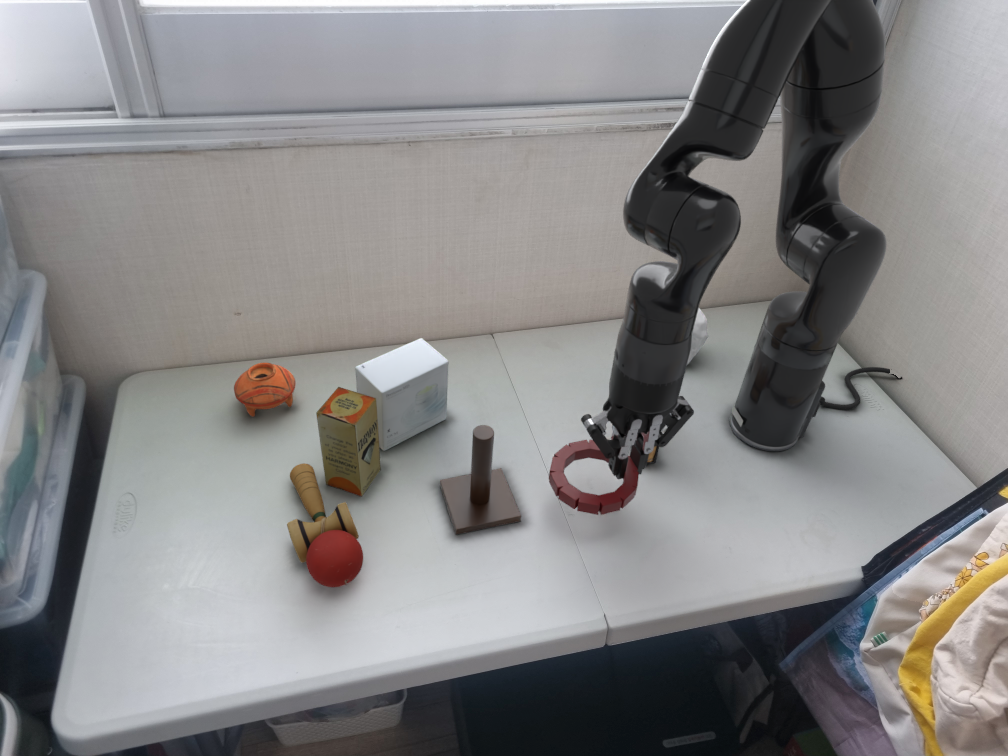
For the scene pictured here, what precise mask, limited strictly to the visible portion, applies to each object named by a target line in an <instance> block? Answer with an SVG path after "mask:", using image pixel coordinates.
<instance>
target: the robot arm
mask: <svg viewBox="0 0 1008 756" xmlns="http://www.w3.org/2000/svg"><path fill="white" fill-rule="evenodd" d="M885 36H886V35H885V30H884V26H883V23H882V21H881V18H880V14H879V12H878V9H877V7H876V5H875V3H874V1H873V0H746V1H745V2H744V3H743V4H742V5H741V6H740V7H739V8H738V9H737V10H736V11H735V12H734V14H733V15H731V17H730V18H729V19H728V21H727V22H726V23H725V24H724V26H722V29H721V30H720V31H719V32H718V34H717V36H716V38H715V39H714V41H713V43H712V44H711V46H710V48H709V50H708V52H707V54H706V56H705V58H704V61H703V63H702V65H701V68H700V70H699V72H698V75H697V76H696V79H695V81H694V84H693V86H692V89H691V91H690V94H689V96H688V98H687V101H686V103H685V105H684V107H683V109H682V113H681V114H680V117H679V118H678V120H677V121H676V122H675V125H674V126H673V127H672V128H671V130H669V133H668V134H667V135H666V136H665V138H664V139H663V141H662V143H660V145H659V147H658V148H657V149H656V151H655V152H654V154H653V155H652V156H651V157H650V159H649V160H648V162H647V163H646V164H645V165H644V167H643V168H642V169H641V170H640V172H639V173H638V174H637V176H636V178H635V179H634V181H633V182H632V183H631V185H630V186H629V189H628V191H627V192H626V195H625V199H624V202H623V208H622V220H623V225H624V228H625V230H626V232H627V234H628V235H629V236H630V237H632V238H633V239H634V240H636V241H638V242H639V243H642V244H643V245H646V246H648V247H649V248H651V249H652V248H653V250H656V251H658V252H660V253H663V254H664V255H667V256H668V257H671V258H672V259H674V260H676V261H677V262H671V261H664V260H663V261H661V260H660V261H659V260H656V261H649V262H646V263H644V264H642V265H640V266H638V267H637V268H636V269H635V270H634V271H633V273H632V275H631V278H630V281H629V285H628V288H627V289H628V291H627V294H626V302H625V308H624V313H623V317H622V321H621V324H620V328H619V330H618V334H617V337H616V344H615V348H614V352H613V360H612V364H611V365H612V367H611V372H610V378H609V383H608V384H609V385H608V397H607V400H606V401H605V402H604V404H603V406H602V411H601V412H598V413H597V414H595V415H594V416H592V415H591V414H589V413H586V414H584V415H583V416H581V418H580V422H581V423H582V425H583V427H584V428H585V430H586V431H587V433H588V435H589V437H590V438H591V440H593V441H594V442H595V444H596V445H597V446H598V448H599V449H600V451H601V452H602V453H603V455H604V456H605V458H607V459H609V463H607V466H608V468H609V470H610V472H611V473H612V475H613V476H614V477H616V479H617V480H623V478H624V474H625V472H626V468H627V463H628V456H630V457H631V459H632V461H633V462H634V464H635V466H636V467H637V469H638V472H639V476H640V475H642V474H643V470H645V469H646V467H647V465H648V464H647V461H648V457H649V453H651V452H652V451H653V449H654V447H656V446H658V445H659V448H664V447H666V446H667V445H668V444H669V443H670V442H671V441H672V440H673V438H674V437H676V435H677V434H678V433H679V431H680V430H681V429H682V428H683V427H684V426H685V424H686V423H687V422H688V421H689V420H690V419H691V417H693V415H694V414H695V410H694V408H692V406H691V403H689V402H688V400H686V398H685V397H684V395H680V394H681V389H682V386H683V382H684V378H685V373H686V369H687V366H688V365H687V362H688V358H689V354H690V350H691V342H692V333H693V329H694V325H695V321H696V317H697V313H698V308H700V304H701V301H702V299H703V296H704V294H705V293H706V291H707V288H708V286H709V284H710V283H711V281H712V279H713V277H714V275H715V273H716V272H717V271H718V269H719V267H720V266H721V264H722V262H723V261H724V259H725V258H726V256H727V255H728V253H729V252H730V251H731V249H732V247H733V246H734V244H735V242H736V241H737V238H738V236H739V233H740V230H741V225H742V215H741V210H740V207H739V204H738V202H737V200H736V199H735V198H734V197H733V196H732V195H731V194H730V193H729V192H726V191H724V190H722V189H719V188H718V187H715V186H713V185H709V184H707V183H705V182H703V181H700V180H698V179H695V178H693V177H691V176H690V175H691V174H692V173H693V171H694V170H695V169H696V168H697V167H699V165H700V164H701V163H703V162H704V161H706V160H708V159H719V160H724V161H731V162H741V161H745V160H747V159H748V158H749V157H750V156H752V154H753V153H754V151H755V149H756V147H757V146H758V144H759V142H760V139H761V137H762V135H763V134H764V130H765V129H766V127H767V125H768V122H769V120H770V118H771V116H772V114H773V112H774V109H775V107H776V105H777V103H778V101H779V98H780V115H781V172H780V173H781V177H780V188H779V197H778V205H777V206H778V207H777V214H776V223H775V224H776V225H775V249H776V253H777V256H778V257H779V259H780V261H781V262H782V263H783V264H784V265H785V266H786V267H787V268H788V270H791V272H793V273H794V274H795V275H797V276H798V277H799V278H800V279H801V280H802V281H804V282H805V283H807V284H808V285H809V286H808V289H807V291H803V290H802V291H801V290H793V291H786V292H782V293H780V294H778V295H776V296H775V297H774V298H772V299H771V301H770V302H769V304H768V306H767V309H766V312H765V316H764V318H763V320H762V324H761V326H760V328H759V329H760V330H759V332H758V336H757V339H756V341H755V345H754V347H753V350H752V354H751V356H750V359H749V362H748V365H747V368H746V371H745V374H744V377H743V380H742V383H741V385H740V388H739V392H738V394H737V397H736V399H735V403H734V405H733V406H732V408H731V412H730V414H729V415H730V416H729V426H730V428H731V430H732V432H733V433H734V435H735V436H736V437H737V438H738V439H740V441H742V442H744V443H745V444H747V445H749V446H751V447H752V448H755V449H758V450H762V451H767V452H783V451H786V450H789V449H791V448H792V447H794V446H795V445H796V444H797V442H798V440H799V439H801V438H804V437H805V435H806V432H807V430H808V428H809V425H810V424H811V421H812V418H816V416H817V413H818V412H819V409H820V407H824V408H828V409H833V410H840V411H841V410H842V411H847V410H853V409H856V408H858V407H859V405H860V404H861V396H860V394H859V392H858V390H857V389H856V388H855V386H854V385H853V383H852V381H851V378H852V377H854V376H857V375H861V374H864V373H884V374H888V375H890V376H893V377H895V378H896V379H897V380H900V379H899V378H898V377H897V376H896V375H894V374H889V373H890V369H891V368H886V367H879V366H868V367H861V368H856V369H853V370H851V371H849V372H848V373H846V375H845V376H844V383H845V385H846V387H847V388H848V390H849V392H850V393H851V395H852V396H853V398H854V402H852V403H848V404H839V403H832V402H828V401H826V398H825V397H823V396H822V395H823V393H824V390H825V388H826V383H825V382H824V377H825V374H826V373H827V370H828V367H829V365H830V362H831V360H832V358H833V355H834V353H835V351H836V349H837V346H838V344H839V342H840V340H841V338H842V335H843V334H844V332H845V331H846V330H847V328H848V327H849V326H850V325H851V323H852V322H853V320H854V319H855V318H856V316H857V314H858V313H859V311H860V308H861V306H862V305H863V302H864V301H865V298H866V296H867V295H868V292H869V290H870V289H871V287H872V285H873V283H874V281H875V280H876V277H877V275H878V273H879V271H880V269H881V267H882V264H883V262H884V259H885V255H886V252H887V237H886V234H885V233H884V231H883V230H882V229H881V228H879V227H878V226H877V225H875V224H874V223H872V222H871V221H869V220H868V219H866V218H865V217H864V216H862V215H861V214H859V213H857V212H856V211H855V210H853V209H851V208H850V207H849V206H847V205H846V204H844V202H843V199H842V198H841V191H840V173H841V166H842V161H843V159H844V157H845V155H847V153H848V151H849V150H850V149H852V147H853V146H854V145H855V144H856V143H857V142H858V140H859V139H860V138H861V137H862V136H863V135H864V134H865V132H866V131H867V129H868V128H869V127H870V125H871V124H872V122H873V121H874V119H875V117H876V115H877V113H878V111H879V108H880V105H881V99H882V94H883V83H884V71H885V61H886V60H885V59H886V48H887V47H886V37H885ZM609 422H610V424H611V430H612V433H611V438H610V439H607V437H606V434H607V432H606V430H607V428H608V427H607V424H608V423H609ZM665 427H666V430H665V431H664V432H663V429H664V428H665ZM635 440H636V442H635Z"/></svg>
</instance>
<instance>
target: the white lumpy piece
mask: <svg viewBox="0 0 1008 756" xmlns="http://www.w3.org/2000/svg"><path fill="white" fill-rule="evenodd" d="M708 323H709V322H708V319H707V317H706V314H705V313H704V312H703V311H702V310H701V308H700V307H699V308H698V313H697V317H696V321H695V325H694V329H693V333H692V342H691V350H690V354H689V358H688V362H687V366H688V365H689V364H690V363H691V361H692V360H693V358H695V357H696V356H697V354H698V352H700V350H701V348H703V347H704V346H705V343H706V341H707V340H708V338H709V333H708Z"/></svg>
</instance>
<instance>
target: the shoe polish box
mask: <svg viewBox="0 0 1008 756" xmlns="http://www.w3.org/2000/svg"><path fill="white" fill-rule="evenodd" d="M316 423H317V428H318V436H319V437H318V438H319V443H320V445H319V446H320V451H321V458H322V466H323V473H324V481H325V485H326V486H329V487H332V488H335V489H338V490H340V491H344V492H346V493H349V494H353V495H356V496H358V497H360V498H361V497H363V496H364V494H365V493H366V492H367V490H368V488H370V485H371V484H372V483H373V481H374V480H375V479H376V478H377V476H378V474H379V473H380V471H381V468H382V466H381V452H380V449H381V448H380V447H379V434H378V419H377V403H376V398H374V397H370V396H367V395H364V394H361V393H357V391H354V390H351V389H347V388H344V387H341V386H338V387H337V388H336V389H335V390H334V391H333V393H332V394H331V395H330V396H329V397H328V398H327V400H325V402H324V403H323V404H322V405H321V406H320V407H319V409H318V410H316Z"/></svg>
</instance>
